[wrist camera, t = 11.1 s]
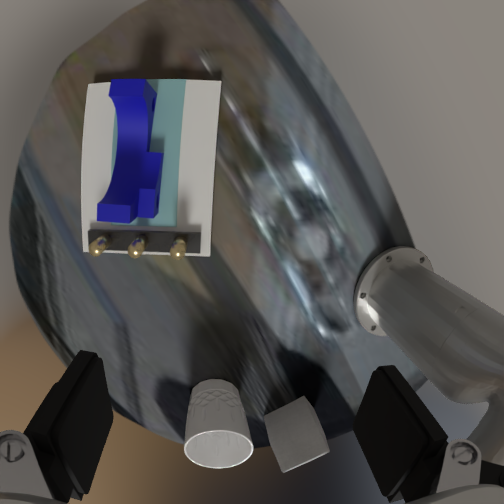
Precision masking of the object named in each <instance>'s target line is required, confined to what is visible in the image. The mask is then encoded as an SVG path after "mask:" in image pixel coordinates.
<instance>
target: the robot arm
mask: <svg viewBox="0 0 504 504" xmlns="http://www.w3.org/2000/svg"><path fill="white" fill-rule="evenodd" d="M354 311H355V314H356V317H357V319H358V321H359V322H360V324H361V325H362V326H363V327H364V328H365V329H366V330H367V331H368V332H370V333H372V334H374V335H377V336H389V337H390V338H391V340H392V341H393V342H394V343H395V344H396V345H397V346H398V347H399V348H400V349H401V350H402V351H403V352H404V353H405V354H406V356H407V357H408V358H409V359H410V360H411V361H412V362H413V363H414V364H415V365H416V366H417V367H418V369H419V370H420V371H421V372H422V373H423V374H424V375H425V376H426V377H427V378H428V379H429V380H430V382H431V383H432V384H433V385H434V386H435V387H436V388H437V389H438V390H439V391H440V392H441V393H442V394H443V395H444V396H445V397H446V398H447V399H449V400H451V401H453V402H456V403H461V404H473V403H480V402H488V403H489V407H488V410H487V412H486V413H485V415H484V416H483V418H482V419H481V421H480V422H479V424H478V426H477V427H476V428H475V429H474V431H473V432H472V433H471V434H470V436H469V437H468V438H467V439H455V440H453V441H451V442H450V443H448V442H447V441H446V440H447V438H448V436H447V434H446V433H445V432H444V430H443V429H442V428H441V426H440V425H439V423H438V422H437V421H436V419H435V418H434V417H433V415H432V414H431V413H430V411H429V410H428V409H427V407H426V406H425V405H424V403H423V402H422V401H421V399H420V398H419V397H418V395H417V394H416V393H415V391H414V390H413V389H412V387H411V386H410V385H409V383H408V382H407V381H406V380H405V378H404V377H403V376H402V374H401V373H400V372H399V371H398V369H397V368H396V367H395V366H394V365H388V366H379V367H378V368H377V369H376V370H375V371H373V373H372V375H371V378H370V381H369V384H368V386H367V389H366V392H365V394H364V397H363V400H362V402H361V405H360V407H359V410H358V412H357V415H356V417H355V419H354V422H353V431H354V433H355V435H356V437H357V440H358V442H359V444H360V446H361V448H362V451H363V453H364V455H365V457H366V459H367V462H368V464H369V466H370V468H371V470H372V473H373V475H374V477H375V479H376V482H377V484H378V486H379V489H380V491H381V493H382V495H383V496H385V497H386V496H387V498H388V501H389V503H391V502H394V501H398V500H401V499H404V500H405V504H504V316H503V315H502V314H501V313H499V312H498V311H496V310H494V309H493V308H491V307H489V306H488V305H486V304H485V303H483V302H481V301H480V300H478V299H477V298H475V297H473V296H472V295H470V294H468V293H467V292H465V291H464V290H462V289H460V288H459V287H457V286H455V285H454V284H452V283H450V282H449V281H447V280H445V279H444V278H442V277H440V276H438V275H437V274H435V273H434V272H433V268H432V265H431V263H430V261H429V259H428V258H427V256H426V255H424V254H423V253H422V252H421V251H419V250H417V249H415V248H412V247H409V246H398V247H393V248H390V249H388V250H386V251H384V252H382V253H381V254H379V255H378V256H377V257H376V258H374V259H373V260H372V261H371V262H370V263H369V265H368V266H367V267H366V268H365V270H364V271H363V273H362V275H361V276H360V278H359V281H358V283H357V286H356V289H355V294H354ZM112 423H113V411H112V406H111V402H110V397H109V393H108V388H107V382H106V377H105V372H104V366H103V361H102V358H99V357H98V355H97V353H94V352H89V351H83V350H80V351H79V352H78V354H77V355H76V357H75V358H74V359H73V361H72V362H71V364H70V365H69V367H68V368H67V370H66V371H65V373H64V374H63V376H62V378H61V379H60V380H59V382H57V383H55V384H54V385H53V386H52V388H51V390H50V391H49V393H48V394H47V396H46V397H45V399H44V400H43V402H42V404H41V405H40V407H39V408H38V410H37V411H36V413H35V415H34V416H33V418H32V419H31V421H30V423H29V424H28V426H27V428H26V429H25V431H24V433H21V432H19V431H14V430H6V431H3V432H0V504H67V503H68V502H69V500H70V497H71V498H74V499H77V500H80V501H81V500H82V497H83V494H88V493H89V490H90V487H91V484H92V481H93V478H94V475H95V472H96V469H97V465H98V463H99V460H100V457H101V454H102V451H103V448H104V445H105V443H106V440H107V437H108V434H109V431H110V428H111V426H112Z"/></svg>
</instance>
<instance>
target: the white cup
mask: <svg viewBox="0 0 504 504" xmlns="http://www.w3.org/2000/svg"><path fill="white" fill-rule="evenodd" d="M184 452H185V454H186V456H187V457H188V458H189V459H190V460H191V461H193V462H194V463H196V464H198V465H201V466H205V467H209V468H227V467H232V466H235V465H238V464H240V463H242V462H244V461H245V460H247V459H248V458H249V457H250V456H251V454H252V452H253V444H252V440H251V436H250V432H249V428H248V423H247V419H246V416H245V412H244V409H243V405H242V403H241V400H240V396H239V391H238V389H237V388H236V387H235V386H234V385H233V384H232V383H230V382H227V381H225V380H222V379H208V380H205V381H202V382H200V383H198V384H197V385H196V386H195V387H194V388H193V389H192V392H191V396H190V404H189V407H188V415H187V422H186V433H185V444H184Z"/></svg>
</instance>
